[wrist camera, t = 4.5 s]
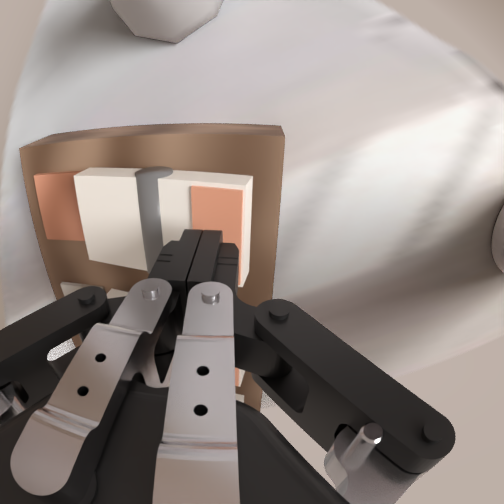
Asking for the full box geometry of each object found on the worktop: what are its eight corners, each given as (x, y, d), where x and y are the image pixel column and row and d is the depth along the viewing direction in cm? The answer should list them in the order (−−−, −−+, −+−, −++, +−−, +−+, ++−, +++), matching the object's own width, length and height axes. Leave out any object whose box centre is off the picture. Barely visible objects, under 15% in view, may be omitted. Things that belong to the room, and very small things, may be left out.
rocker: (253, 172, 14) (244, 184, 13) (249, 271, 17) (241, 291, 15) (91, 164, 16) (70, 174, 14) (104, 247, 18) (87, 262, 17)
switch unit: (280, 125, 18) (285, 137, 15) (260, 382, 31) (259, 418, 27) (52, 134, 19) (16, 149, 15) (110, 366, 31) (98, 397, 27)
